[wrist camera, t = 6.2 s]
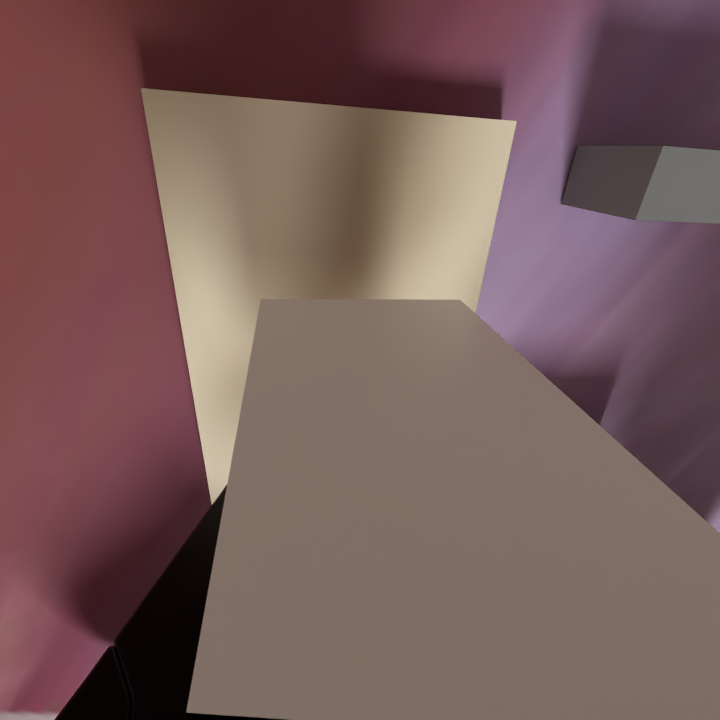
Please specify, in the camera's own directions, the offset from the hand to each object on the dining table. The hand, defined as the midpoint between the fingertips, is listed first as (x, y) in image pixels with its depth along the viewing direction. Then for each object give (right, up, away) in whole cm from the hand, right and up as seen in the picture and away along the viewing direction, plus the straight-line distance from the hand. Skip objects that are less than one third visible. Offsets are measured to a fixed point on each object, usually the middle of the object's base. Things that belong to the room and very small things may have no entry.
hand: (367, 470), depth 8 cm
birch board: (-1, +3, +5) cm, 6 cm away
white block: (0, +1, +1) cm, 2 cm away
